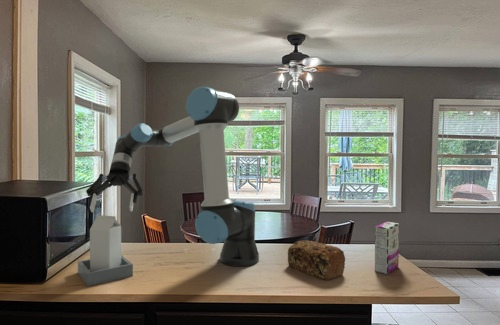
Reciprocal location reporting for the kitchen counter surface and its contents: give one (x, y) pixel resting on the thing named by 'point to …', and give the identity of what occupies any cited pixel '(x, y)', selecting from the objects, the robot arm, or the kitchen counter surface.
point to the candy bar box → (386, 247)
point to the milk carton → (105, 243)
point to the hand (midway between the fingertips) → (111, 209)
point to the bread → (317, 259)
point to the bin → (104, 272)
